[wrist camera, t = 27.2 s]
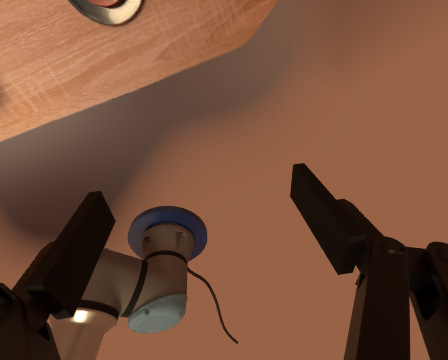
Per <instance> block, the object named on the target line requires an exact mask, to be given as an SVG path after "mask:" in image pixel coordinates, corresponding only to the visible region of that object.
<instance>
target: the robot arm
mask: <svg viewBox="0 0 448 360" xmlns="http://www.w3.org/2000/svg"><path fill="white" fill-rule="evenodd" d="M290 197H291V198H292V200H293V202H294V203H295V205H296V207H297V208H298V210H299V211H300V213H301V215H302V216H303V218H304V220H305V221H306V223H307V225H308V226H309V228H310V229H311V231H312V233H313V235H314V236H315V238H316V239H317V241H318V243H319V244H320V246H321V248H322V249H323V251H324V252H325V254H326V256H327V258H328V259H329V261H330V263H331V264H332V266H333V267H334V269H335V271H336V272H337V274H338V275H341V274H347V273H352V272H353V270H354V268H355V265H356V266H357V268H358V269H359V271H360V274H359V277H358V279H357V281H356V285H357V289H356V295H355V300H354V306H353V311H352V317H351V322H350V328H349V333H348V339H347V345H346V350H345V355H344V360H410V308H409V296H410V299H411V302H412V305H413V308H414V311H415V314H416V317H417V321H418V323H419V327H420V330H421V332H422V336H423V339H424V342H425V345H426V348H427V351H428V354H429V357H430V360H448V244H446V243H443V242H432V243H429V245H428V246H427V248H426V249H421V248H412V247H405V246H404V245H403V244H402V243H401V242H399V241H398V240H395V239H393V238H390V237H385V236H383V235H382V234H381V233H380V232H379V231H378V230H377V228H376V227H374V225H373V224H372V223H371V222H370V221H369V220H368V219H367V218H366V217H364V215H363V214H362V213H361V212H359V210H358V209H357V208H356V207H355V206H354V205H353V204H352V203H351V202H349V201H347V200H345V199H339V200H336V199H335V198H334V197H333V195H332V194H331V193H330V192H329V191H328V190H327V189H326V188H325V186H324V185H323V184H322V183H321V182H320V181H319V180H318V178H317V177H316V176H315V175H314V174H313V173H312V172H311V170H310V169H309V168H308V167H307V166H306V165H305V164H304V163H302V164H294V165H293V172H292V182H291V193H290ZM115 222H116V221H115V219H114V217H113V215H112V213H111V211H110V209H109V207H108V205H107V203H106V201H105V199H104V197H103V195H102V193H101V191H96V192H89V193H88V195H87V196H86V197H85V199H84V200H83V202H82V203H81V205H80V206H79V208H78V209H77V211H76V212H75V213H74V215H73V216H72V217H71V219H70V220H69V222H68V223H67V225H66V226H65V228H64V229H63V231H62V232H61V233H60V235H59V236H58V238H57V239H56V240H55V241H53V242H50V243H49V244H47V245H46V246H45V247H44V248H43V249H42V250H41V251H40V252H39V253H38V255H37V256H36V258H35V260H33V262H32V263H31V265H30V267H29V268H27V270H26V271H25V273H24V274H23V275H22V277H21V278H20V279H19V281H18V282H17V283H16V285H15V286H14V287H13V289H12V290H10V289H9V288H8V287H7V286H6V285H5V284H3V283H0V360H96V357H97V354H98V351H99V347H100V345H101V342H102V339H103V336H104V334H105V333H106V332H107V331H108V330H110V329H111V328H112V327H114V326H115V325H116V323H117V320H118V317H119V316H121V317H127V318H128V326H129V328H130V329H131V330H133V331H134V332H137V333H156V332H160V331H164V330H167V329H169V328H171V327H173V326H175V325H176V324H178V323H179V322H180V321H181V320H182V318H183V317H184V314H185V309H186V301H187V271H188V272H189V273H191V274H192V275H194V276H195V277H197V278H199V279H201V280H202V281H203V282H204V283H205V284H206V285H207V286H208V288H209V289H210V292H211V294H212V296H213V298H214V300H215V303H216V306H217V310H218V314H219V317H220V321H221V324H222V326H223V329H224V330H225V332H226V334H227V335H228V336H229V337H230V338H231V339H232V340H233V341H234V342H235V343H238V342H237V341H236V340H235V339H234V338H233V337H232V336H231V335H230V334H229V333H228V331H227V330H226V328H225V326H224V323H223V321H222V317H221V313H220V309H219V305H218V302H217V299H216V297H215V294H214V292H213V290H212V288H211V286H210V285H209V283H208V282H207V281H206V280H205V279H204V278H203V277H201V276H200V275H198V274H196V273H194V272H193V271H191V270H190V269H189V268H188V267H187V263H188V261H189V258H190V256H191V253H192V251H193V248H194V235H193V233H192V231H191V230H190V229H189V228H188V227H186V226H184V225H182V224H180V223H176V222H159V223H156V224H153V225H151V226H150V227H148V228H147V229H146V230H145V231H144V233H143V235H142V239H141V251H142V257H143V260H142V259H138V258H135V257H132V256H128V255H125V254H121V253H118V252H114V251H111V250H108V249H107V248H105V249H104V247H105V244H106V242H107V240H108V237H109V235H110V233H111V230H112V228H113V226H114V224H115ZM48 318H49V320H50V322H51V325H52V329H51V328H50V326H49V324H48V323H47V322H46V321H47V319H48Z"/></svg>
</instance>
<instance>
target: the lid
mask: <svg viewBox="0 0 448 360" xmlns="http://www.w3.org/2000/svg"><path fill="white" fill-rule="evenodd" d="M88 1H89V2H91V3H93V4H95V5H98V6H101V7H106V8H111V7H115V6H117V5H119V4H120V3H122V2H123V0H88Z"/></svg>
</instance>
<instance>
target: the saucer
mask: <svg viewBox="0 0 448 360" xmlns="http://www.w3.org/2000/svg"><path fill="white" fill-rule="evenodd" d="M68 1H69V2H70V3H71V4H72V5H73V6H74V7H75V8H76V9H77V10H78V11H79V12H80V13H81V14H83V15H84V16H86V17H88V18H89V19H91V20H93V21H95V22H98V23H102V24H106V25H119V24H123V23H126V22H128V21H129V20H131V19H132V18H133V17H134V16H135V15H136V14H137V13H138V11H139V9H140V7H141V5H142V2H143V0H123V2H122V3H120V4H119V5H117V6H115V7H111V8H106V7H101V6H98V5H95V4H93V3H91V2H89V1H88V0H68Z"/></svg>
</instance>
